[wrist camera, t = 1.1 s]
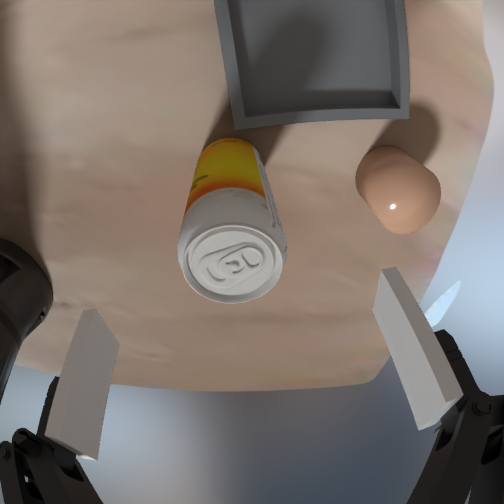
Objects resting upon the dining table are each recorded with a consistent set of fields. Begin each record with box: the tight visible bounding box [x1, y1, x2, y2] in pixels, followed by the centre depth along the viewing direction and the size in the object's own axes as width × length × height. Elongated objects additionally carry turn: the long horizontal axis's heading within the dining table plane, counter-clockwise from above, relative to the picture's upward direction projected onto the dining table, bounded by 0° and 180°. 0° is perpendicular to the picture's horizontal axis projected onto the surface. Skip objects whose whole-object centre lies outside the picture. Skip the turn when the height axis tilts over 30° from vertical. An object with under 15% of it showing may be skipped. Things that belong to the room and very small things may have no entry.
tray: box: [214, 0, 410, 131], centre depth 19 cm, size 16×16×3 cm
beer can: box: [177, 138, 287, 303], centre depth 22 cm, size 6×6×15 cm
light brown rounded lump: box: [355, 145, 441, 234], centre depth 27 cm, size 7×7×6 cm
